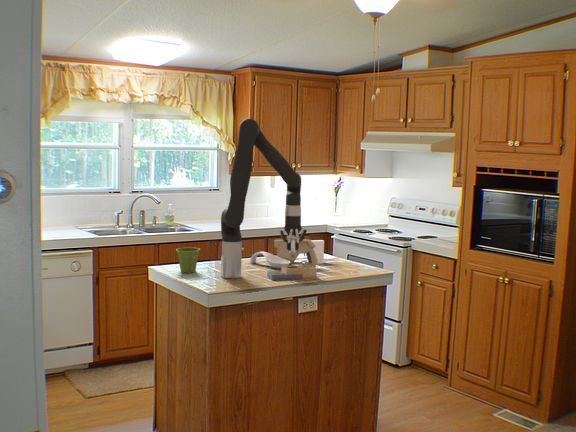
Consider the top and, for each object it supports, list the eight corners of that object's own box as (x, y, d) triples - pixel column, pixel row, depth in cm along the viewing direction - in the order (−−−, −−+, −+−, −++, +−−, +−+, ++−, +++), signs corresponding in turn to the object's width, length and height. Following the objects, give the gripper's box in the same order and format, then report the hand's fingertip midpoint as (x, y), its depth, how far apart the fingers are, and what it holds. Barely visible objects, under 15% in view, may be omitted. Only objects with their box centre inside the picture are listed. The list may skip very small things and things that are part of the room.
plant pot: (190, 268, 303) (190, 246, 302) (204, 272, 294) (204, 249, 293) (170, 271, 295) (170, 248, 293) (184, 275, 286) (184, 252, 285)
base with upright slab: (319, 260, 333) (320, 239, 332) (326, 263, 325) (326, 241, 324) (304, 261, 330) (305, 239, 329) (311, 264, 322) (311, 242, 320)
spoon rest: (294, 267, 312) (294, 254, 311) (281, 271, 303) (282, 257, 302) (258, 262, 325) (258, 249, 325) (244, 265, 316) (245, 251, 315)
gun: (318, 268, 311) (316, 239, 310) (315, 269, 308) (313, 240, 307) (278, 266, 323) (276, 239, 322) (275, 267, 320) (273, 240, 319)
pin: (289, 257, 283) (290, 236, 282) (287, 256, 287) (287, 235, 286) (297, 257, 284) (297, 236, 283) (295, 255, 288) (295, 235, 287)
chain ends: (271, 280, 279) (272, 269, 279) (267, 276, 288) (267, 266, 287) (316, 278, 285) (316, 268, 285) (310, 274, 294) (310, 264, 293)
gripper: (280, 215, 278) (280, 252, 280) (309, 215, 282) (309, 251, 284) (276, 213, 285) (276, 249, 287) (304, 213, 289) (304, 248, 291)
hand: (292, 250), depth 285 cm, fingers closed on pin, 3 cm apart
